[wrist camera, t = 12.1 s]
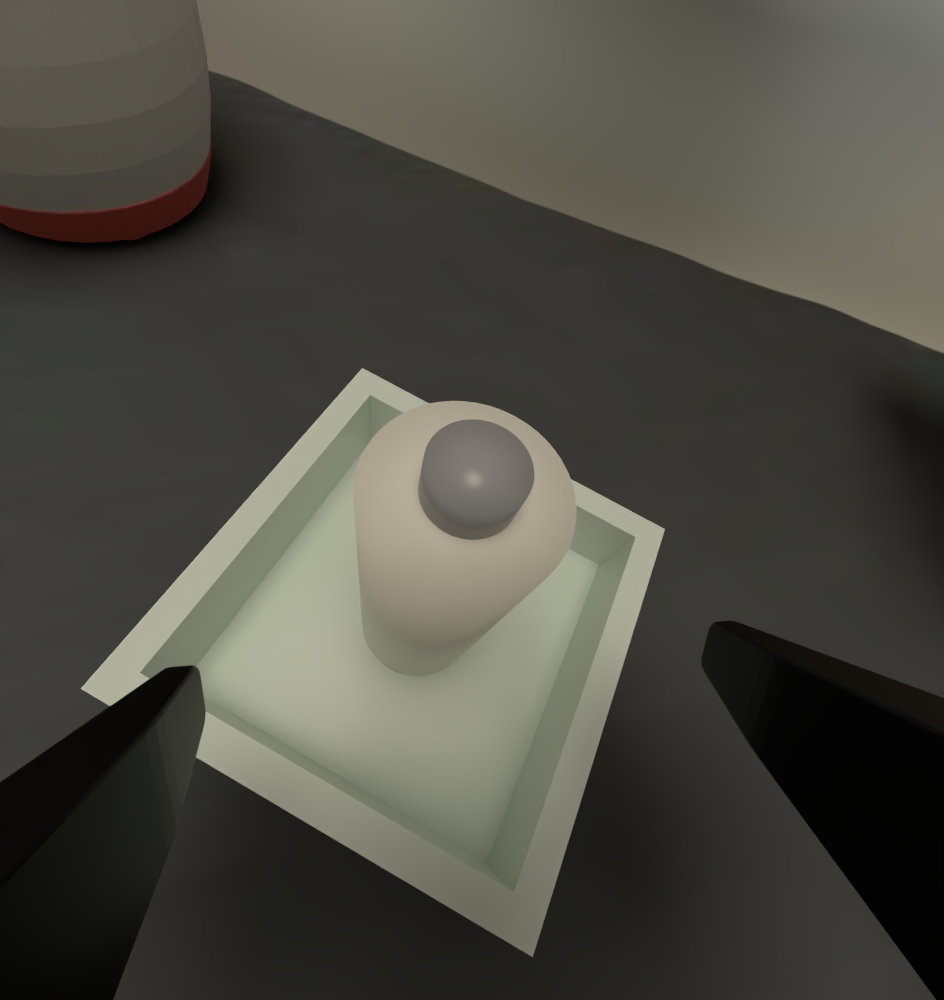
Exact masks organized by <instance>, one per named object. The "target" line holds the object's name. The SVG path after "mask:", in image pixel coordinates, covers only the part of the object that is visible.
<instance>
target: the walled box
mask: <svg viewBox="0 0 944 1000" xmlns="http://www.w3.org/2000/svg"><path fill="white" fill-rule="evenodd" d="M426 404H429V403H427V402H425V401H423V400H421V399H419V398H417V397H416V396H414V395H412V394H410V393H408V392H406V391H404V390H402V389H401V388H399V387H397V386H395V385H393V384H391V383H389V382H387V381H386V380H384V379H382V378H380V377H378V376H376V375H374V374H372V373H371V372H369V371H367V370H365V369H363V368H362V369H361V370H360V371H359V373H358V374H357V375H356V376H355V377H354V378H353V379H352V381H351V382H350V383H349V384H348V385H347V386H346V387H345V389H344V390H343V391H342V392H341V393H340V394H339V395H338V396H337V398H336V399H335V400H334V401H333V402H332V403H331V404H330V406H329V407H328V408H327V409H326V410H325V411H324V412H323V414H322V415H321V416H320V417H319V418H318V419H317V420H316V422H315V423H314V424H313V425H312V426H311V427H310V428H309V429H308V431H307V432H306V433H305V434H304V435H303V436H302V437H301V439H300V440H299V441H298V442H297V443H296V444H295V445H294V447H293V448H292V449H291V450H290V451H289V452H288V453H287V455H286V456H285V457H284V458H283V459H282V460H281V461H280V462H279V464H278V465H277V466H276V467H275V468H274V469H273V470H272V472H271V473H270V474H269V475H268V476H267V477H266V478H265V480H264V481H263V482H262V483H261V484H260V485H259V486H258V488H257V489H256V490H255V491H254V492H253V493H252V494H251V496H250V497H249V498H248V499H247V500H246V501H245V502H244V503H243V505H242V506H241V507H240V508H239V509H238V510H237V511H236V513H235V514H234V515H233V516H232V517H231V518H230V519H229V521H228V522H227V523H226V524H225V525H224V526H223V527H222V529H221V530H220V531H219V532H218V533H217V534H216V535H215V536H214V538H213V539H212V540H211V541H210V542H209V543H208V544H207V546H206V547H205V548H204V549H203V550H202V551H201V552H200V554H199V555H198V556H197V557H196V558H195V559H194V560H193V562H192V563H191V564H190V565H189V566H188V567H187V568H186V569H185V571H184V572H183V573H182V574H181V575H180V576H179V577H178V579H177V580H176V581H175V582H174V583H173V584H172V585H171V587H170V588H169V589H168V590H167V591H166V592H165V593H164V595H163V596H162V597H161V598H160V599H159V600H158V601H157V602H156V604H155V605H154V606H153V607H152V608H151V609H150V610H149V612H148V613H147V614H146V615H145V616H144V617H143V618H142V620H141V621H140V622H139V623H138V624H137V625H136V626H135V628H134V629H133V630H132V631H131V632H130V633H129V634H128V636H127V637H126V638H125V639H124V640H123V641H122V642H121V643H120V645H119V646H118V647H117V648H116V649H115V650H114V651H113V653H112V654H111V655H110V656H109V657H108V658H107V659H106V661H105V662H104V663H103V664H102V665H101V666H100V667H99V669H98V670H97V671H96V672H95V673H94V674H93V675H92V676H91V678H90V679H89V680H88V681H87V682H86V683H85V684H84V686H83V687H82V688H81V689H82V690H84V691H85V692H87V693H89V694H90V695H92V696H94V697H95V698H97V699H99V700H100V701H102V702H104V703H106V704H107V705H109V706H111V705H113V704H114V703H115V702H117V701H118V700H120V699H121V698H123V697H124V696H126V695H127V694H128V693H130V692H131V691H133V690H134V689H136V688H137V687H139V686H140V685H141V684H143V683H144V682H146V681H147V680H149V679H150V678H152V677H153V676H154V675H156V674H157V673H159V672H160V671H162V670H163V669H165V668H167V667H174V666H187V665H194V666H196V667H198V669H199V671H200V675H201V682H202V688H203V695H204V702H205V709H206V716H205V724H204V728H203V732H202V736H201V739H200V743H199V747H198V751H197V755H196V758H198V759H200V760H202V761H203V762H205V763H207V764H208V765H210V766H212V767H213V768H215V769H217V770H218V771H220V772H222V773H223V774H225V775H227V776H228V777H230V778H232V779H234V780H235V781H237V782H239V783H240V784H242V785H244V786H245V787H247V788H249V789H250V790H252V791H254V792H255V793H257V794H259V795H260V796H262V797H264V798H266V799H267V800H269V801H271V802H272V803H274V804H276V805H277V806H279V807H281V808H282V809H284V810H286V811H287V812H289V813H291V814H292V815H294V816H296V817H298V818H299V819H301V820H303V821H304V822H306V823H308V824H309V825H311V826H313V827H314V828H316V829H318V830H319V831H321V832H323V833H324V834H326V835H328V836H329V837H331V838H333V839H335V840H336V841H338V842H340V843H341V844H343V845H345V846H346V847H348V848H350V849H351V850H353V851H355V852H356V853H358V854H360V855H361V856H363V857H365V858H367V859H368V860H370V861H372V862H373V863H375V864H377V865H378V866H380V867H382V868H383V869H385V870H387V871H388V872H390V873H392V874H393V875H395V876H397V877H399V878H400V879H402V880H404V881H405V882H407V883H409V884H410V885H412V886H414V887H415V888H417V889H419V890H420V891H422V892H424V893H425V894H427V895H429V896H431V897H432V898H434V899H436V900H437V901H439V902H441V903H442V904H444V905H446V906H447V907H449V908H451V909H452V910H454V911H456V912H457V913H459V914H461V915H463V916H464V917H466V918H468V919H469V920H471V921H473V922H474V923H476V924H478V925H479V926H481V927H483V928H484V929H486V930H488V931H489V932H491V933H493V934H495V935H496V936H498V937H500V938H501V939H503V940H505V941H506V942H508V943H510V944H511V945H513V946H515V947H516V948H518V949H520V950H521V951H523V952H525V953H527V954H528V955H530V956H532V957H533V955H534V951H535V948H536V945H537V942H538V938H539V935H540V932H541V929H542V925H543V922H544V919H545V916H546V912H547V909H548V906H549V903H550V900H551V896H552V893H553V890H554V887H555V883H556V880H557V877H558V874H559V870H560V867H561V864H562V861H563V857H564V854H565V851H566V848H567V844H568V841H569V838H570V835H571V832H572V828H573V825H574V822H575V819H576V815H577V812H578V809H579V806H580V802H581V799H582V796H583V793H584V789H585V786H586V783H587V780H588V776H589V773H590V770H591V767H592V764H593V760H594V757H595V754H596V751H597V747H598V744H599V741H600V738H601V734H602V731H603V728H604V725H605V721H606V718H607V715H608V712H609V708H610V705H611V702H612V699H613V696H614V692H615V689H616V686H617V683H618V679H619V676H620V673H621V670H622V666H623V663H624V660H625V657H626V653H627V650H628V647H629V644H630V640H631V637H632V634H633V631H634V628H635V624H636V621H637V618H638V615H639V611H640V608H641V605H642V602H643V598H644V595H645V592H646V589H647V585H648V582H649V579H650V576H651V572H652V569H653V566H654V563H655V559H656V556H657V553H658V550H659V547H660V543H661V540H662V537H663V534H664V530H665V529H664V528H662V527H660V526H658V525H656V524H654V523H652V522H650V521H648V520H647V519H645V518H643V517H641V516H639V515H637V514H635V513H633V512H632V511H630V510H628V509H626V508H624V507H622V506H620V505H618V504H617V503H615V502H613V501H611V500H609V499H607V498H605V497H603V496H602V495H600V494H598V493H596V492H594V491H592V490H590V489H588V488H586V487H585V486H583V485H581V484H579V483H577V482H575V481H573V480H571V482H572V485H573V489H574V493H575V499H576V508H577V510H576V525H575V530H574V535H573V538H572V541H571V544H570V547H569V549H568V551H567V553H566V554H565V556H564V558H563V560H562V561H561V562H560V564H559V565H558V567H557V568H556V569H555V570H554V571H553V572H552V573H551V574H550V575H549V576H548V577H547V578H546V579H545V580H544V581H543V582H542V583H541V584H540V585H539V586H538V587H536V588H535V589H534V590H533V591H532V592H531V593H530V594H529V595H528V596H526V597H525V598H524V599H523V600H522V601H521V602H520V603H519V604H518V605H516V606H515V607H514V608H513V609H512V610H511V611H510V612H509V613H508V614H506V615H505V616H504V617H503V618H502V619H501V620H500V621H499V622H498V623H496V624H495V625H494V626H493V627H492V628H491V629H490V630H489V631H488V632H486V633H485V634H484V635H483V636H482V637H481V638H480V639H479V640H478V641H476V642H475V643H474V644H473V645H472V646H471V647H470V648H469V649H468V650H466V651H465V652H464V653H463V654H462V655H461V656H460V657H459V658H458V659H456V660H455V661H454V662H453V663H452V664H450V665H449V666H448V667H446V668H444V669H443V670H441V671H438V672H436V673H433V674H429V675H424V676H410V675H404V674H401V673H398V672H395V671H393V670H391V669H389V668H388V667H386V666H385V665H383V664H382V663H381V662H380V661H379V660H378V659H377V658H376V657H375V656H374V655H373V653H372V652H371V650H370V649H369V647H368V645H367V642H366V640H365V637H364V633H363V627H362V614H361V600H360V586H359V572H358V558H357V544H356V530H355V516H354V502H353V486H354V478H355V473H356V469H357V466H358V463H359V460H360V458H361V456H362V454H363V452H364V450H365V448H366V447H367V445H368V444H369V442H370V441H371V439H372V438H373V437H374V436H375V435H376V433H377V432H378V431H379V430H380V429H381V428H382V427H384V426H385V425H386V424H387V423H388V422H390V421H391V420H393V419H394V418H396V417H397V416H399V415H400V414H402V413H405V412H407V411H409V410H411V409H413V408H416V407H419V406H422V405H426Z"/></svg>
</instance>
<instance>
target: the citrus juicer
mask: <svg viewBox="0 0 944 1000" xmlns="http://www.w3.org/2000/svg"><path fill="white" fill-rule="evenodd" d="M210 125H211V97H210V87H209V76H208V66H207V56H206V49H205V44H204V39H203V33H202V28H201V23H200V18H199V13H198V7H197V2H196V0H0V223H2V224H4V225H6V226H8V227H10V228H12V229H14V230H17V231H20V232H23V233H27V234H30V235H33V236H36V237H41V238H47V239H52V240H58V241H68V242H84V243H91V242H110V241H118V240H137V239H140V238H142V237H144V236H146V235H147V234H150V233H153V232H156V231H159V230H161V229H163V228H166V227H168V226H170V225H172V224H174V223H176V222H178V221H179V220H181V219H182V218H184V217H185V216H186V215H188V214H189V213H191V212H192V210H193V209H194V208H195V207H196V206H197V205H198V204H199V203H200V202H201V200H202V198H203V196H204V194H205V192H206V189H207V183H208V176H209V169H210V161H211V152H212V142H213V141H212V137H211V132H210Z"/></svg>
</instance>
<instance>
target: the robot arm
mask: <svg viewBox="0 0 944 1000" xmlns="http://www.w3.org/2000/svg"><path fill="white" fill-rule="evenodd" d="M701 664H702V668H703V671H704V672H705V674H706V676H707V677H708V679H709V681H710V682H711V684H712V686H713V687H714V689H715V690H716V692H717V694H718V695H719V697H720V699H721V700H722V702H723V703H724V705H725V707H726V708H727V710H728V712H729V713H730V715H731V716H732V718H733V720H734V721H735V723H736V725H737V726H738V728H739V729H740V731H741V733H742V734H743V736H744V737H745V739H746V740H747V742H748V743H749V745H750V746H751V748H752V749H753V751H754V752H755V753H756V755H757V756H758V758H759V759H760V760H761V762H762V763H763V765H764V766H765V767H766V769H767V770H768V771H769V773H770V774H771V775H772V777H773V778H774V779H775V781H776V782H777V784H778V785H779V786H780V788H781V789H782V790H783V792H784V793H785V794H786V796H787V797H788V799H789V800H790V801H791V803H792V804H793V805H794V807H795V808H796V809H797V811H798V812H799V814H800V815H801V816H802V818H803V819H804V820H805V822H806V823H807V824H808V826H809V827H810V828H811V830H812V831H813V833H814V834H815V835H816V837H817V838H818V839H819V841H820V842H821V843H822V845H823V846H824V848H825V849H826V850H827V852H828V853H829V854H830V856H831V857H832V858H833V860H834V861H835V863H836V864H837V865H838V867H839V868H840V869H841V871H842V872H843V873H844V875H845V876H846V877H847V879H848V880H849V882H850V883H851V884H852V886H853V887H854V888H855V890H856V891H857V892H858V894H859V895H860V897H861V898H862V899H863V901H864V902H865V903H866V905H867V906H868V907H869V909H870V910H871V912H872V913H873V914H874V916H875V917H876V918H877V920H878V921H879V922H880V924H881V925H882V926H883V928H884V929H885V931H886V932H887V933H888V935H889V936H890V937H891V939H892V940H893V941H894V943H895V944H896V946H897V947H898V948H899V950H900V951H901V952H902V954H903V955H904V956H905V958H906V959H907V960H908V962H909V963H910V965H911V966H912V967H913V969H914V970H915V971H916V973H917V974H918V975H919V977H920V978H921V980H922V981H923V982H924V984H925V985H926V986H927V988H928V989H929V990H930V992H931V993H932V995H933V996H934V997H935V999H936V1000H944V698H942V697H940V696H937V695H934V694H931V693H929V692H926V691H923V690H921V689H918V688H915V687H912V686H910V685H907V684H904V683H902V682H899V681H896V680H893V679H891V678H888V677H885V676H882V675H880V674H877V673H874V672H872V671H869V670H866V669H863V668H861V667H858V666H855V665H853V664H850V663H847V662H844V661H842V660H839V659H836V658H833V657H831V656H828V655H825V654H823V653H820V652H817V651H814V650H812V649H809V648H806V647H804V646H801V645H798V644H795V643H793V642H790V641H787V640H784V639H782V638H779V637H776V636H774V635H771V634H768V633H765V632H763V631H760V630H757V629H755V628H752V627H749V626H746V625H744V624H741V623H738V622H735V621H721V622H714V623H712V624H711V625H710V626H709V628H708V631H707V635H706V640H705V644H704V648H703V652H702V656H701ZM205 716H206V709H205V702H204V695H203V688H202V682H201V675H200V671H199V669H198V667H196V666H194V665H187V666H174V667H167V668H165V669H163V670H162V671H160V672H159V673H157V674H156V675H154V676H153V677H152V678H150V679H149V680H147V681H146V682H144V683H143V684H141V685H140V686H139V687H137V688H136V689H134V690H133V691H131V692H130V693H128V694H127V695H126V696H124V697H123V698H121V699H120V700H118V701H117V702H115V703H114V704H113V705H111V706H110V707H108V708H107V709H105V710H104V711H102V712H101V713H100V714H98V715H97V716H95V717H94V718H92V719H91V720H89V721H88V722H87V723H85V724H84V725H82V726H81V727H79V728H78V729H76V730H75V731H74V732H72V733H71V734H69V735H68V736H66V737H65V738H63V739H62V740H61V741H59V742H58V743H56V744H55V745H53V746H52V747H50V748H49V749H48V750H46V751H45V752H43V753H42V754H40V755H39V756H37V757H36V758H35V759H33V760H32V761H30V762H29V763H27V764H26V765H24V766H23V767H22V768H20V769H19V770H17V771H16V772H14V773H13V774H11V775H10V776H9V777H7V778H6V779H4V780H3V781H1V782H0V1000H113V998H114V996H115V993H116V990H117V988H118V985H119V983H120V980H121V977H122V975H123V972H124V969H125V967H126V964H127V961H128V959H129V956H130V953H131V951H132V948H133V945H134V943H135V940H136V937H137V935H138V932H139V929H140V927H141V924H142V921H143V919H144V916H145V913H146V911H147V908H148V906H149V903H150V900H151V898H152V895H153V892H154V890H155V887H156V884H157V882H158V879H159V876H160V874H161V871H162V868H163V866H164V863H165V860H166V858H167V855H168V852H169V850H170V847H171V844H172V841H173V838H174V835H175V833H176V830H177V826H178V823H179V819H180V816H181V812H182V808H183V804H184V801H185V797H186V793H187V789H188V785H189V781H190V778H191V774H192V770H193V766H194V762H195V759H196V755H197V751H198V747H199V743H200V739H201V736H202V732H203V728H204V724H205Z"/></svg>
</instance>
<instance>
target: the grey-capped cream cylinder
mask: <svg viewBox="0 0 944 1000" xmlns="http://www.w3.org/2000/svg"><path fill="white" fill-rule="evenodd" d="M353 502H354V516H355V530H356V544H357V558H358V572H359V586H360V600H361V614H362V627H363V633H364V637H365V640H366V642H367V645H368V647H369V649H370V650H371V652H372V653H373V655H374V656H375V657H376V658H377V659H378V660H379V661H380V662H381V663H382V664H383V665H385V666H386V667H388V668H389V669H391V670H393V671H395V672H398V673H401V674H404V675H410V676H424V675H429V674H433V673H436V672H438V671H441V670H443V669H444V668H446V667H448V666H449V665H450V664H452V663H453V662H454V661H455V660H456V659H458V658H459V657H460V656H461V655H462V654H463V653H464V652H465V651H466V650H468V649H469V648H470V647H471V646H472V645H473V644H474V643H475V642H476V641H478V640H479V639H480V638H481V637H482V636H483V635H484V634H485V633H486V632H488V631H489V630H490V629H491V628H492V627H493V626H494V625H495V624H496V623H498V622H499V621H500V620H501V619H502V618H503V617H504V616H505V615H506V614H508V613H509V612H510V611H511V610H512V609H513V608H514V607H515V606H516V605H518V604H519V603H520V602H521V601H522V600H523V599H524V598H525V597H526V596H528V595H529V594H530V593H531V592H532V591H533V590H534V589H535V588H536V587H538V586H539V585H540V584H541V583H542V582H543V581H544V580H545V579H546V578H547V577H548V576H549V575H550V574H551V573H552V572H553V571H554V570H555V569H556V568H557V567H558V565H559V564H560V562H561V561H562V560H563V558H564V556H565V554H566V553H567V551H568V549H569V547H570V544H571V541H572V538H573V535H574V530H575V525H576V510H577V508H576V499H575V493H574V489H573V485H572V482H571V479H570V476H569V474H568V471H567V469H566V467H565V466H564V464H563V462H562V460H561V458H560V457H559V456H558V454H557V453H556V451H555V450H554V449H553V447H552V446H551V445H550V444H549V443H548V442H547V440H546V439H545V438H544V437H542V436H541V435H540V434H539V433H538V432H537V431H536V430H535V429H533V428H532V427H531V426H529V425H528V424H527V423H525V422H524V421H522V420H520V419H519V418H517V417H515V416H513V415H511V414H509V413H507V412H505V411H503V410H500V409H497V408H494V407H491V406H488V405H483V404H479V403H473V402H465V401H445V402H436V403H431V404H426V405H422V406H419V407H416V408H413V409H411V410H409V411H407V412H405V413H402V414H400V415H399V416H397V417H396V418H394V419H393V420H391V421H390V422H388V423H387V424H386V425H385V426H384V427H382V428H381V429H380V430H379V431H378V432H377V433H376V435H375V436H374V437H373V438H372V439H371V441H370V442H369V444H368V445H367V447H366V448H365V450H364V452H363V454H362V456H361V458H360V460H359V463H358V466H357V469H356V473H355V478H354V486H353Z"/></svg>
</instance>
